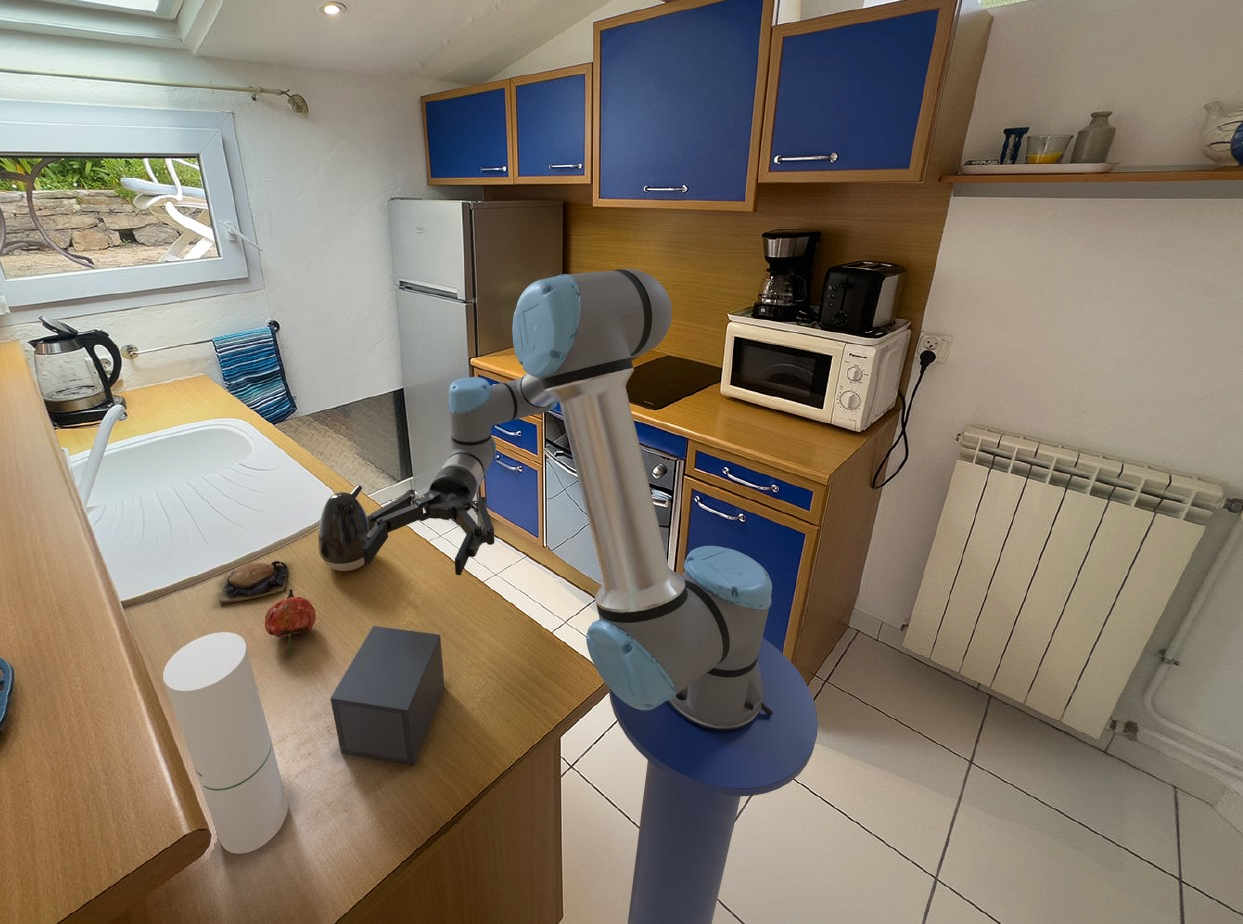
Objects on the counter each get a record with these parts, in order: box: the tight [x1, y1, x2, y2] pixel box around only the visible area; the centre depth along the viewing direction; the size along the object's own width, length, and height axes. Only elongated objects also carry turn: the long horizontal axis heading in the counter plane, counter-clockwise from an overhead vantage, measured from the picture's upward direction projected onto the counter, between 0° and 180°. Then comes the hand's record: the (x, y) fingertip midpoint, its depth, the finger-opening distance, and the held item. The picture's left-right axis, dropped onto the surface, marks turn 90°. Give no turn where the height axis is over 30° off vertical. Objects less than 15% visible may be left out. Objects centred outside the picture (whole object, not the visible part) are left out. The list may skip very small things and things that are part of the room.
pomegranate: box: [264, 588, 317, 656], centre depth 88 cm, size 7×7×10 cm
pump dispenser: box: [317, 484, 370, 572], centre depth 104 cm, size 10×10×15 cm
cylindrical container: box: [162, 631, 289, 855], centre depth 60 cm, size 7×7×25 cm
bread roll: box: [218, 560, 288, 604], centre depth 100 cm, size 11×8×4 cm
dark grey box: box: [329, 625, 445, 766], centre depth 75 cm, size 10×12×10 cm
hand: (411, 562), depth 78 cm, fingers open, 13 cm apart
